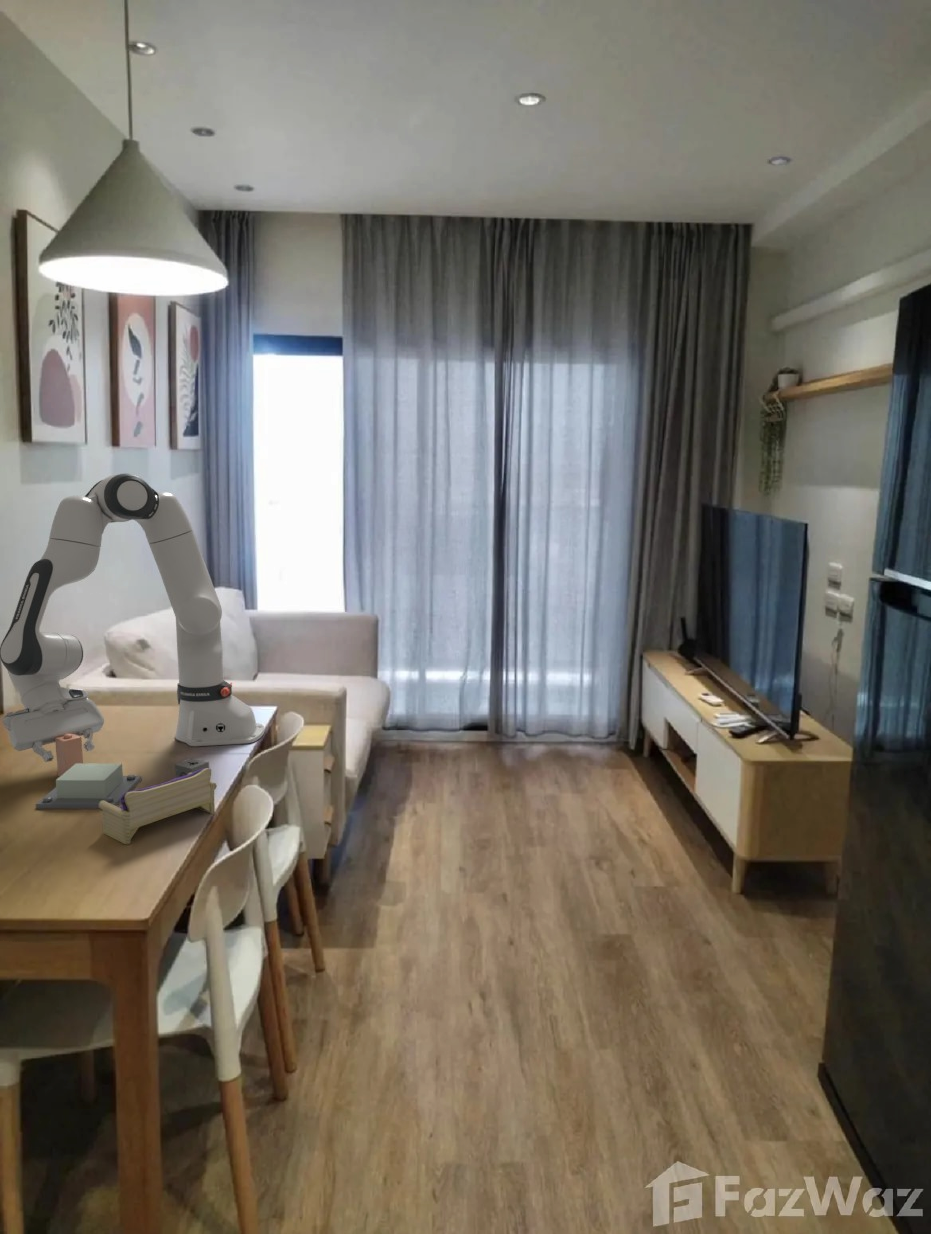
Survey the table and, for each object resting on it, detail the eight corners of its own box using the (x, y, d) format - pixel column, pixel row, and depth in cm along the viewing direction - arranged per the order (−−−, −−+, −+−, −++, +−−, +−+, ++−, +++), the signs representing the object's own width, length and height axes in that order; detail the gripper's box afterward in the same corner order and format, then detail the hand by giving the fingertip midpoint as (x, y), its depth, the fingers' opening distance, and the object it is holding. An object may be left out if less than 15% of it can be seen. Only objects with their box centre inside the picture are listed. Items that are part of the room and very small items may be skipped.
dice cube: (192, 790, 187) (191, 768, 186) (176, 786, 190) (175, 764, 189) (209, 783, 192) (208, 762, 191) (193, 779, 194) (192, 758, 193)
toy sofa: (193, 802, 181) (191, 755, 180) (218, 812, 176) (216, 765, 174) (99, 835, 165) (96, 784, 163) (124, 848, 160) (120, 796, 158)
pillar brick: (75, 770, 198) (72, 730, 196) (84, 774, 195) (81, 734, 194) (58, 775, 195) (54, 735, 193) (66, 779, 192) (63, 738, 191)
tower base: (141, 780, 193) (140, 759, 192) (114, 808, 177) (113, 785, 176) (69, 780, 192) (68, 758, 191) (36, 808, 177) (34, 785, 176)
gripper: (3, 707, 188) (27, 759, 184) (92, 688, 204) (116, 736, 200) (-5, 722, 192) (19, 774, 188) (84, 703, 208) (108, 750, 203)
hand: (70, 754), depth 194 cm, fingers open, 8 cm apart
